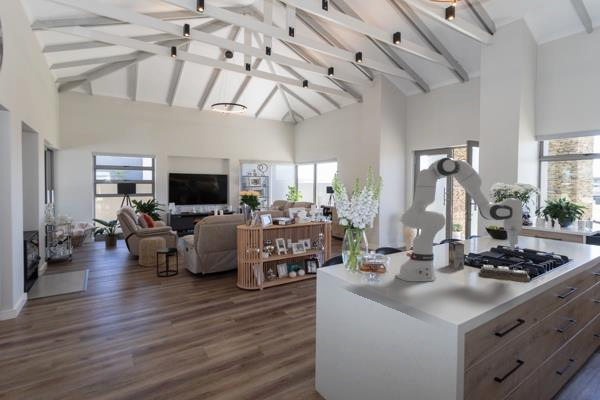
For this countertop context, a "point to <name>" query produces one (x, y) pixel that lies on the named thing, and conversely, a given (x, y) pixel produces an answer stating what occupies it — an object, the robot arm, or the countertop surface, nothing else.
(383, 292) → the countertop surface
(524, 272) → the button two
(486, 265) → the button three
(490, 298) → the countertop surface
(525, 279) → the button board
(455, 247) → the coffee box
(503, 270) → the button one
